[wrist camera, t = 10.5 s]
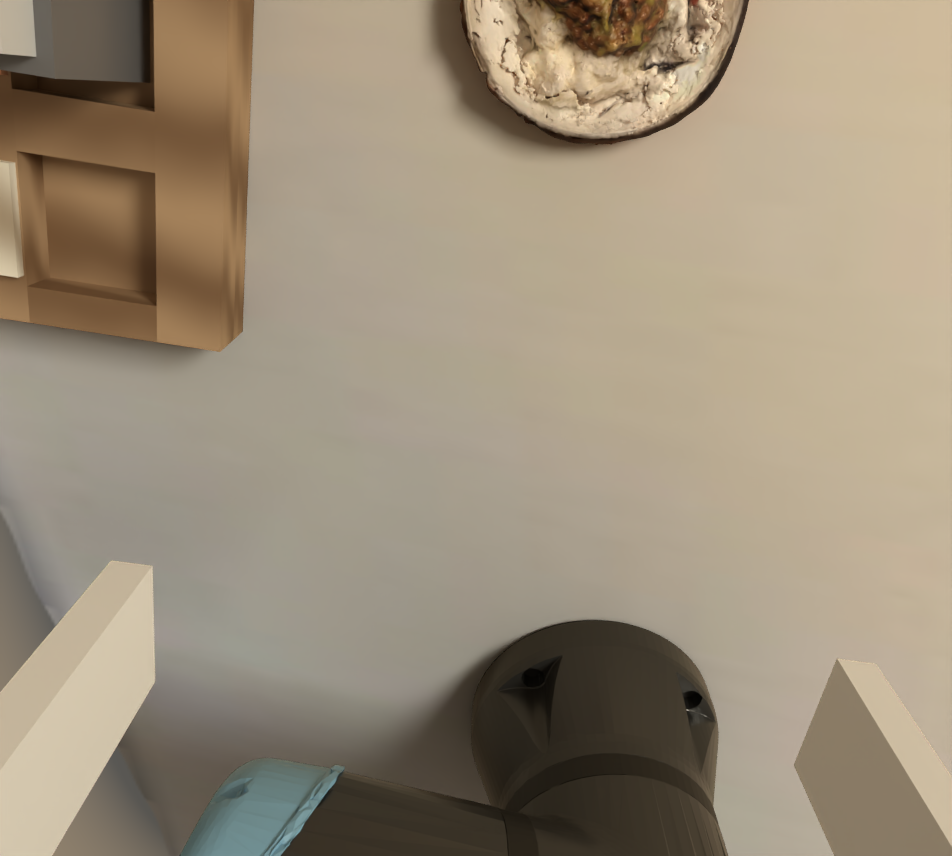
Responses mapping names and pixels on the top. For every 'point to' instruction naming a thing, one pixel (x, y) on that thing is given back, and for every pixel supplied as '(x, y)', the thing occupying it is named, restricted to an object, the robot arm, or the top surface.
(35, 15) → the plug
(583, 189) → the top surface
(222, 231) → the socket board
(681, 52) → the bagel
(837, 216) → the top surface
